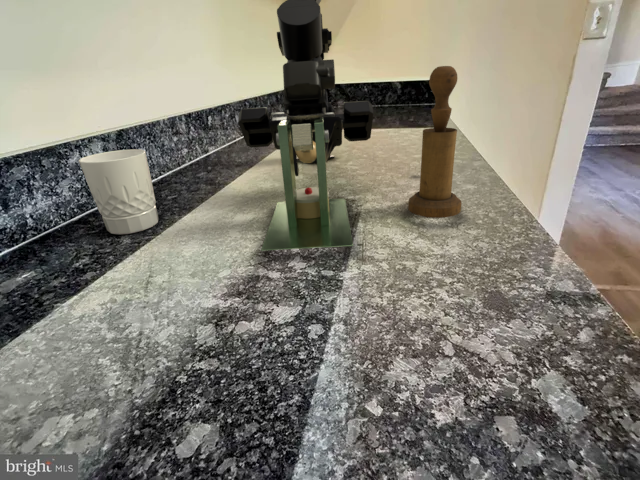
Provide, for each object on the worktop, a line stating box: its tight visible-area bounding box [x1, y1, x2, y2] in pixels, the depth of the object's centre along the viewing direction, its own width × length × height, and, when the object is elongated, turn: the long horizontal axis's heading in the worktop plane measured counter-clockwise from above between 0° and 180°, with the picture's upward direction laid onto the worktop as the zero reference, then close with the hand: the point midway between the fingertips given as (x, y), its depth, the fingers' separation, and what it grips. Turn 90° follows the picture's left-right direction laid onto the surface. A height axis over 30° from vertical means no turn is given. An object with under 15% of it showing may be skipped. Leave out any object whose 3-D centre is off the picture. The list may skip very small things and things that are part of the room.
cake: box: [296, 187, 330, 219], centre depth 48 cm, size 5×5×3 cm
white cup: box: [78, 148, 160, 235], centre depth 50 cm, size 8×8×10 cm
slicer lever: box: [292, 124, 317, 164], centre depth 46 cm, size 11×3×3 cm, turn 179°
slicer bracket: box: [260, 118, 354, 252], centre depth 44 cm, size 16×10×13 cm, turn 0°
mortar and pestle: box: [407, 65, 462, 219], centre depth 44 cm, size 7×6×18 cm
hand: (308, 173), depth 50 cm, fingers closed on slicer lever, 3 cm apart
